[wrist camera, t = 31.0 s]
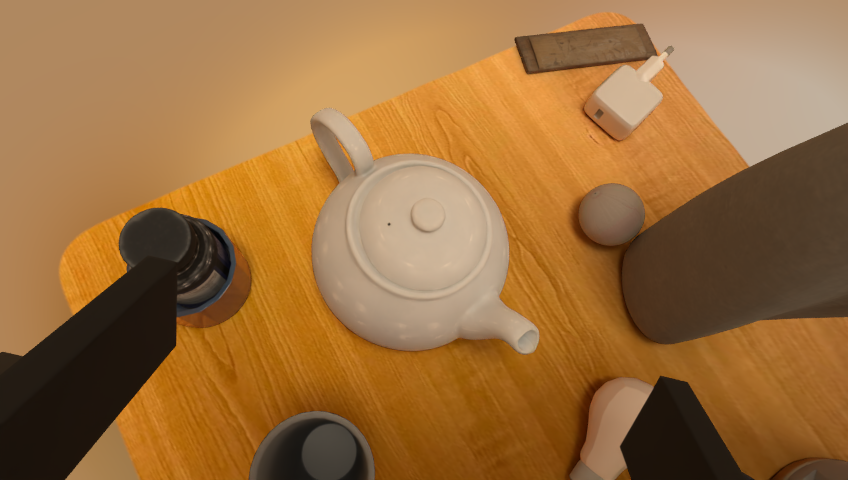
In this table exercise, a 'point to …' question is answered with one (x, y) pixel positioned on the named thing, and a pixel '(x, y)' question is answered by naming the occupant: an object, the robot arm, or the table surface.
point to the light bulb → (610, 428)
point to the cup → (314, 450)
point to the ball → (611, 214)
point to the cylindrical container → (228, 295)
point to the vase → (748, 248)
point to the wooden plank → (585, 48)
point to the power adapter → (626, 97)
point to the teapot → (410, 248)
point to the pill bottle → (178, 252)
